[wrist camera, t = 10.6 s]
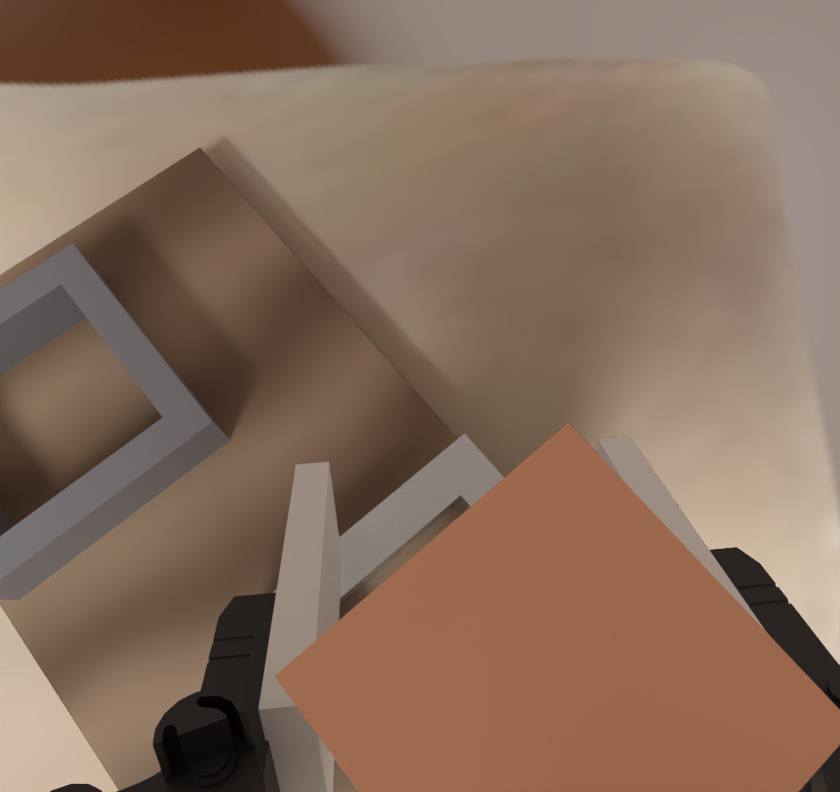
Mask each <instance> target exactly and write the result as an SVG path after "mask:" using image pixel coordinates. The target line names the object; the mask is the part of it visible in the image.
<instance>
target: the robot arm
mask: <svg viewBox="0 0 840 792" xmlns="http://www.w3.org/2000/svg"><path fill="white" fill-rule="evenodd" d="M597 453H598V454H599V456H600V457H601V458H602V459H603V460H604V461H605V462H606V463H607V464H608V465H609V466H610V467H611V468H612V469H613V470H614V471H615V472H616V474H617V475H618V476H619V477H620V478H621V479H622V480H623V481H624V482H625V483H626V484H627V485H628V486H629V487H630V488H631V489H632V490H633V492H634V493H635V494H636V495H637V496H638V497H639V498H640V499H641V500H642V501H643V502H644V503H645V504H646V505H647V506H648V507H649V508H650V510H651V511H652V512H653V513H654V514H655V515H656V516H657V517H658V518H659V519H660V520H661V521H662V522H663V523H664V524H665V525H666V526H667V527H668V529H669V530H670V531H671V532H672V533H673V534H674V535H675V536H676V537H677V538H678V539H679V540H680V541H681V542H682V543H683V544H684V545H685V547H686V548H687V549H688V550H689V551H690V552H691V553H692V554H693V555H694V556H695V557H696V558H697V559H698V560H699V561H700V562H701V563H702V565H703V566H704V567H705V568H706V569H707V570H708V571H709V572H710V573H711V574H712V575H713V576H714V577H715V578H716V579H717V580H718V581H719V583H720V584H721V585H722V586H723V587H724V588H725V589H726V590H727V591H728V592H729V593H730V594H731V595H732V596H733V597H734V598H735V599H736V600H737V602H738V603H739V604H740V605H741V606H742V607H743V608H744V609H745V610H746V611H747V612H748V613H749V614H750V615H751V616H752V617H753V618H754V620H755V621H756V622H757V623H758V624H759V625H760V626H761V627H762V628H763V629H764V630H765V631H766V632H767V633H768V634H769V635H770V636H771V638H772V639H773V640H774V641H775V642H776V643H777V644H778V645H779V646H780V647H781V648H782V649H783V650H784V651H785V652H786V653H787V654H788V655H789V657H790V658H791V659H792V660H793V661H794V662H795V663H796V664H797V665H798V666H799V667H800V668H801V669H802V670H803V671H804V672H805V673H806V675H807V676H808V677H809V678H810V679H811V680H812V681H813V682H814V683H815V684H816V685H817V686H818V687H819V688H820V689H821V690H822V691H823V693H824V694H825V695H826V696H827V697H828V698H829V699H830V700H831V701H832V702H833V703H834V704H835V705H836V706H837V707H838V708H839V709H840V665H839V664H838V663H837V662H836V661H835V659H834V658H833V657H832V655H831V654H830V653H829V652H828V650H827V649H826V648H825V646H824V645H823V644H822V643H821V641H820V640H819V639H818V637H817V636H816V635H815V634H814V632H813V631H812V630H811V628H810V627H809V626H808V625H807V623H806V622H805V621H804V619H803V618H802V617H801V616H800V614H799V613H798V612H797V610H796V609H795V608H794V607H793V605H792V604H789V603H788V599H787V598H786V596H785V595H784V594H783V592H782V591H781V590H780V589H779V587H776V585H775V582H774V581H773V580H772V578H771V577H770V576H769V574H768V573H767V572H766V571H765V569H764V568H763V567H762V565H761V564H760V563H758V562H757V561H756V560H754V559H753V558H751V557H750V556H748V555H747V554H745V553H744V552H743V551H741V550H740V549H738V548H737V547H735V548H724V549H714V550H709V549H708V547H707V546H706V545H705V543H704V542H703V540H702V539H701V537H700V536H699V534H698V533H697V532H696V530H695V529H694V527H693V526H692V524H691V523H690V522H689V520H688V519H687V517H686V516H685V514H684V513H683V512H682V510H681V509H680V507H679V506H678V504H677V503H676V502H675V500H674V499H673V497H672V496H671V494H670V493H669V491H668V490H667V489H666V487H665V486H664V484H663V483H662V481H661V480H660V479H659V477H658V476H657V474H656V473H655V471H654V470H653V469H652V467H651V466H650V464H649V463H648V461H647V460H646V458H645V457H644V456H643V454H642V453H641V451H640V450H639V448H638V447H637V446H636V444H635V443H634V441H633V440H632V438H631V437H630V436H622V437H610V438H598V443H597ZM340 581H341V548H340V540H339V533H338V525H337V518H336V510H335V503H334V495H333V488H332V480H331V472H330V465H329V462H320V463H308V464H296V467H295V474H294V480H293V487H292V493H291V500H290V506H289V513H288V520H287V526H286V533H285V539H284V546H283V552H282V559H281V565H280V572H279V578H278V585H277V591H276V592H275V593H265V594H254V595H244V596H234V598H233V599H232V600H231V602H230V603H229V604H228V606H227V607H226V608H225V609H224V611H223V612H222V613H221V615H220V616H219V618H218V622H217V626H216V630H215V634H214V638H213V644H212V646H211V650H210V654H209V663H207V666H206V670H205V675H204V679H203V683H202V687H201V691H198V692H195V693H193V694H191V695H189V696H187V697H185V698H183V699H181V700H179V701H178V702H177V703H176V704H174V705H173V706H172V707H171V708H170V709H169V710H168V711H167V712H166V713H164V715H163V717H162V718H161V720H160V722H159V723H158V725H157V727H156V728H155V733H154V739H153V748H154V751H155V753H156V756H157V759H158V762H159V765H160V768H161V771H159V772H158V773H157V774H155V775H153V776H151V777H149V778H148V779H146V780H144V781H142V782H139V783H137V784H134V785H132V786H129V787H127V788H125V789H122V790H120V791H117V792H333V777H334V757H333V756H332V754H331V753H330V751H329V750H328V749H327V747H326V746H325V745H324V743H323V742H322V741H321V739H320V738H319V736H318V735H317V734H316V732H315V731H314V730H313V728H312V727H311V725H310V724H309V723H308V721H307V720H306V719H305V717H304V716H303V715H302V713H301V712H300V710H299V709H298V708H297V706H296V705H295V704H294V702H293V701H292V699H291V698H290V697H289V695H288V694H287V693H286V691H285V690H284V689H283V687H282V686H281V684H280V683H279V682H278V680H277V679H276V678H275V675H277V674H278V673H279V672H280V671H281V670H282V669H284V668H285V667H286V666H287V665H288V664H289V663H290V662H292V661H293V660H294V659H295V658H296V657H297V656H299V655H300V654H301V653H302V652H303V651H304V650H305V649H307V648H308V647H309V646H310V645H311V644H312V643H314V642H315V641H316V640H317V639H318V638H319V637H321V636H322V635H323V634H324V633H325V632H326V631H327V630H329V629H330V628H331V627H332V626H333V625H334V624H336V623H337V622H338V621H339V609H340ZM50 792H102V791H101V790H99V789H97V788H96V787H94V786H92V785H90V784H70V785H67V786H64V787H61V788H58V789H55V790H52V791H50ZM799 792H840V745H839V746H838V747H837V749H836V750H835V751H834V752H833V753H832V754H831V755H830V757H829V758H828V759H827V760H826V761H825V762H824V763H823V765H822V766H821V767H820V768H819V769H818V770H817V771H816V773H815V774H814V775H813V776H812V777H811V778H810V779H809V781H808V782H807V783H806V784H805V785H804V786H803V787H802V789H801V790H800V791H799Z"/></svg>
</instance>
